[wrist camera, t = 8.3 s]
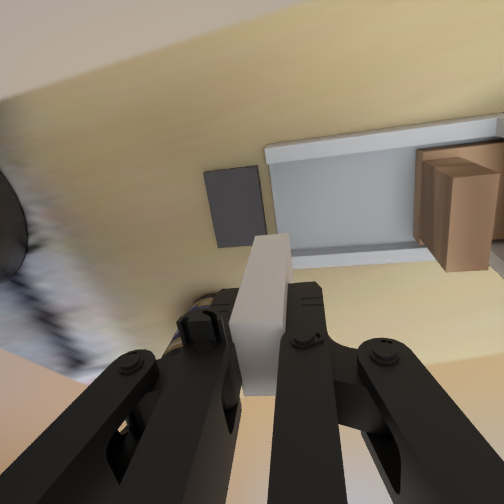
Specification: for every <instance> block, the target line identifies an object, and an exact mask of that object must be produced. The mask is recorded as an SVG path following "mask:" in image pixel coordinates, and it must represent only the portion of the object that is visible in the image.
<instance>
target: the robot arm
mask: <svg viewBox="0 0 504 504" xmlns="http://www.w3.org/2000/svg"><path fill="white" fill-rule="evenodd" d="M26 245H27V232H26V225H25V220H24V217H23V213H22V210H21V207H20V205H19V202H18V200H17V198H16V196H15V194H14V192H13V190H12V189H11V187H10V185H9V184H8V182H7V181H6V179H5V178H4V176H3V175H2V174H1V172H0V284H1V283H2V282H4V281H6V280H7V279H9V278H10V277H11V276H13V275H14V274H15V272H16V271H17V270H18V269H19V267H20V265H21V264H22V261H23V259H24V256H25V252H26ZM176 323H177V327H178V330H179V334H180V337H181V341H182V344H183V347H182V349H181V351H180V353H179V354H176V355H173V356H169V357H166V358H162V359H158V360H156V359H155V356H154V354H153V353H152V352H151V351H148V350H146V349H140V350H134V351H130V352H127V353H125V354H123V355H121V356H120V357H118V358H117V359H116V360H115V361H113V362H112V363H111V364H110V365H109V366H108V367H107V368H106V369H105V370H104V371H103V372H102V373H101V374H100V375H99V376H98V377H97V378H96V379H95V380H94V381H93V382H92V383H91V384H90V385H89V386H88V387H87V389H86V390H84V392H82V394H80V396H79V397H77V399H75V400H74V401H73V402H72V404H71V405H70V406H69V407H68V408H67V409H66V410H65V411H64V412H63V413H62V414H61V415H60V416H59V417H58V418H57V419H56V420H55V421H54V422H53V423H52V424H51V425H50V426H49V427H48V428H47V429H46V430H45V431H44V432H43V433H42V434H41V435H40V436H39V437H38V438H37V439H36V440H35V441H34V442H33V443H32V444H31V445H30V446H29V447H28V448H27V449H26V450H25V451H24V452H23V453H22V454H21V455H20V456H19V457H18V458H17V459H16V460H15V461H14V462H13V463H12V464H11V465H10V466H9V467H8V468H7V469H6V470H5V471H4V472H3V473H2V474H1V475H0V504H225V502H226V497H227V491H228V485H229V480H230V474H231V468H232V462H233V457H234V451H235V445H236V440H237V434H238V429H239V422H240V417H241V411H242V409H241V401H240V396H239V395H240V390H241V385H242V388H243V393H244V396H276V399H275V413H274V424H273V437H272V450H271V462H270V476H269V488H268V500H267V504H348V503H347V494H346V486H345V477H344V469H343V460H342V451H341V444H340V435H339V426H338V424H341V425H344V426H348V427H351V428H355V429H358V430H361V435H362V437H363V439H364V441H365V443H366V446H367V448H368V450H369V452H370V454H371V456H372V458H373V461H374V463H375V465H376V467H377V469H378V471H379V473H380V476H381V478H382V480H383V482H384V484H385V486H386V488H387V491H388V493H389V495H390V497H391V499H392V501H393V503H394V504H504V461H503V460H502V459H501V458H500V457H499V455H498V454H497V453H496V452H495V450H494V449H493V448H492V447H491V446H490V444H489V443H488V442H487V441H486V440H485V438H484V437H483V436H482V435H481V434H480V432H479V431H478V430H477V429H476V428H475V427H474V425H473V424H472V423H471V422H470V420H469V419H468V418H467V417H466V416H465V414H464V413H463V412H462V411H461V410H460V408H459V407H458V406H457V405H456V404H455V402H454V401H453V400H452V399H451V398H450V396H449V395H448V394H447V393H446V392H445V390H444V389H443V388H442V387H441V386H440V384H439V383H438V382H437V381H436V380H435V378H434V377H433V376H432V375H431V373H430V372H429V371H428V370H427V369H426V367H425V366H424V365H423V364H422V363H421V361H420V360H419V359H418V358H417V357H416V355H415V354H414V353H413V352H412V351H411V349H409V348H408V347H407V346H406V345H405V344H403V343H401V342H399V341H396V340H394V339H388V338H373V339H370V340H367V341H365V342H363V343H362V344H361V345H360V346H359V348H358V349H354V348H349V347H346V346H342V345H340V344H338V343H336V342H335V341H333V340H332V339H331V338H330V337H329V335H328V333H327V328H326V320H325V311H324V303H323V294H322V288H321V287H320V286H319V285H318V284H317V283H316V282H315V281H314V282H301V283H294V275H293V266H292V258H291V249H290V241H289V233H280V234H270V235H260V236H255V238H254V242H253V245H252V248H251V252H250V255H249V258H248V261H247V265H246V268H245V271H244V275H243V278H242V281H241V285H240V288H231V289H222V290H221V291H220V292H218V293H217V294H216V295H215V296H214V298H213V300H212V303H211V306H210V307H209V308H201V309H196V310H193V311H190V312H188V313H186V314H185V315H183V316H182V317H180V319H179V320H178V321H177V322H176ZM124 420H125V421H126V423H127V426H126V427H125V428H124V429H123V430H122V431H121V432H119V431H118V428H119V427H120V426H121V424H122V423H123V422H124Z"/></svg>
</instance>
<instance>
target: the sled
mask: <svg viewBox="0 0 504 504" xmlns="http://www.w3.org/2000/svg"><path fill="white" fill-rule="evenodd" d="M413 237H414V239H415V240H416V241H417V243H418V244H419V245H425V246H426V247H427V248H428V250H429V251H430V252H431V254H432V255H433V256H434V257H435V259H436V260H437V261H438V263H439V264H440V265H441V267H442V268H443V269H444V270H445V272H461V271H479V270H488V267H489V259H490V251H491V243H492V240H496V239H504V138H503V139H495V140H487V141H479V142H470V143H462V144H454V145H446V146H438V147H429V148H421V149H416V167H415V197H414V226H413Z"/></svg>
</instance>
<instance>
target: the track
mask: <svg viewBox="0 0 504 504" xmlns="http://www.w3.org/2000/svg"><path fill="white" fill-rule="evenodd" d="M503 138H504V112H503V113H496V114H488V115H481V116H473V117H466V118H459V119H451V120H444V121H436V122H429V123H422V124H414V125H407V126H399V127H392V128H385V129H377V130H370V131H362V132H355V133H347V134H340V135H333V136H325V137H318V138H310V139H303V140H296V141H288V142H281V143H273V144H268V145H267V146H266V147H265V157H266V164H269V170H270V178H271V186H272V194H273V202H274V210H275V218H276V226H277V234H280V233H289V241H290V249H291V258H292V266H293V269H307V268H323V267H339V266H355V265H372V264H388V263H404V262H420V261H436V259H435V257H434V256H433V255H432V254H431V252H430V251H429V250H428V248H427V247H426V246H425V245H419V244H418V243H417V241H416V240H415V239H414V237H413V226H414V197H415V167H416V149H421V148H429V147H438V146H446V145H454V144H462V143H470V142H479V141H487V140H495V139H503ZM489 265H490V266H491V267H492V268H493V269H494V270H495V271H496V272H497V273H498V274H499V275H500V276H501V277H502V278H503V279H504V239H496V240H492V243H491V251H490V259H489Z"/></svg>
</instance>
